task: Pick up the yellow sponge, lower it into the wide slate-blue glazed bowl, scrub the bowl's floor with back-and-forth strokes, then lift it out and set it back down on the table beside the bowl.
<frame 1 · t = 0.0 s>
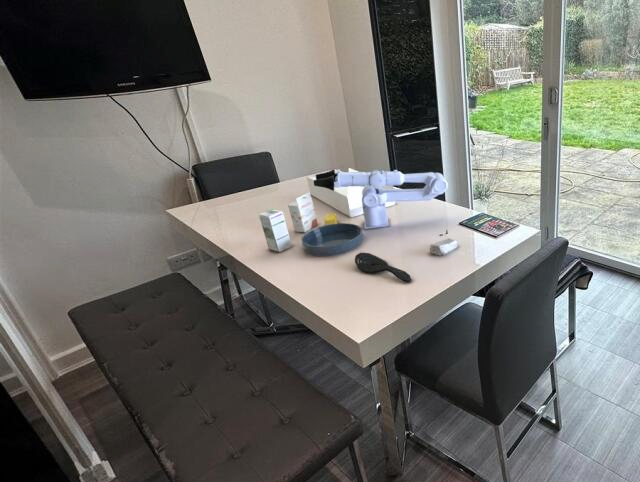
hand: (314, 180, 158), 22 cm above the table, tool horizontal, fingers open, 7 cm apart
bowl: (334, 243, 155), on the table
ink cartridge box: (306, 228, 169), on the table
hairbrush: (384, 271, 136), on the table
sponge: (332, 225, 171), on the table
syrup box: (280, 248, 152), on the table
soap bar: (445, 251, 149), on the table
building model: (351, 199, 201), on the table
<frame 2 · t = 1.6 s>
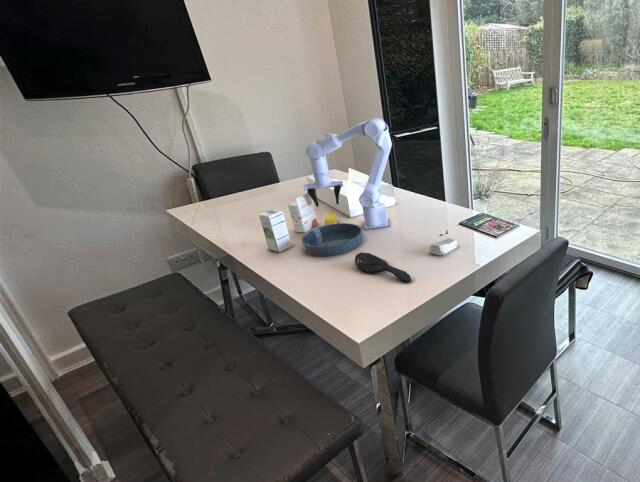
hand: (327, 204, 167), 9 cm above the table, tool pointing down, fingers open, 7 cm apart
nothing on the table moved.
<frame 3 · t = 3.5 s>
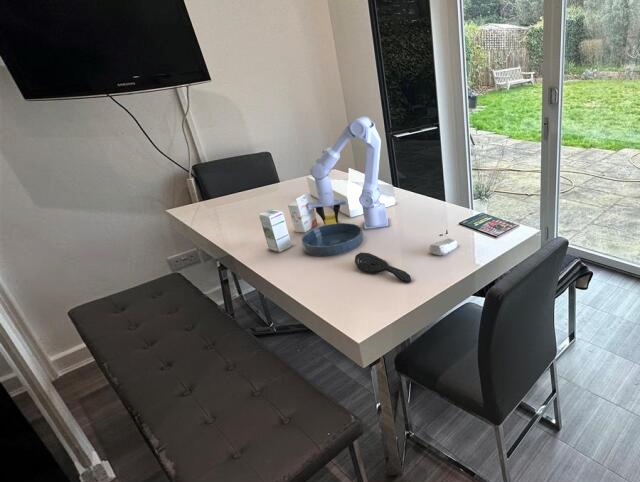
hand: (331, 222, 171), 1 cm above the table, tool pointing down, fingers closed on sponge, 4 cm apart
sponge: (331, 225, 171), on the table, touching gripper
everything else where it was.
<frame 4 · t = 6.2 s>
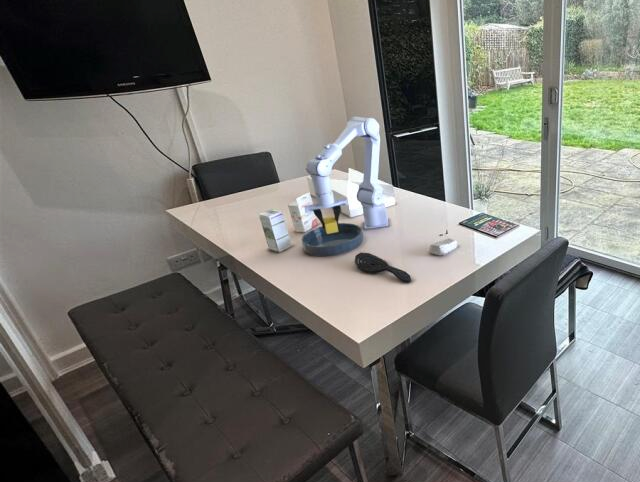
hand: (330, 226, 153), 7 cm above the table, tool pointing down, fingers closed on sponge, 4 cm apart
sponge: (331, 229, 153), point 6 cm above the table, touching gripper
everything else where it was.
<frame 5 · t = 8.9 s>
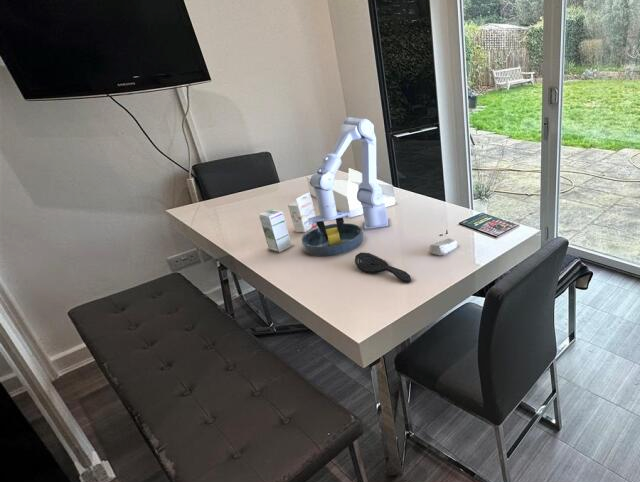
hand: (333, 237, 156), 2 cm above the table, tool pointing down, fingers closed on sponge, 4 cm apart
sponge: (334, 241, 156), point 1 cm above the table, touching gripper
everything else where it was.
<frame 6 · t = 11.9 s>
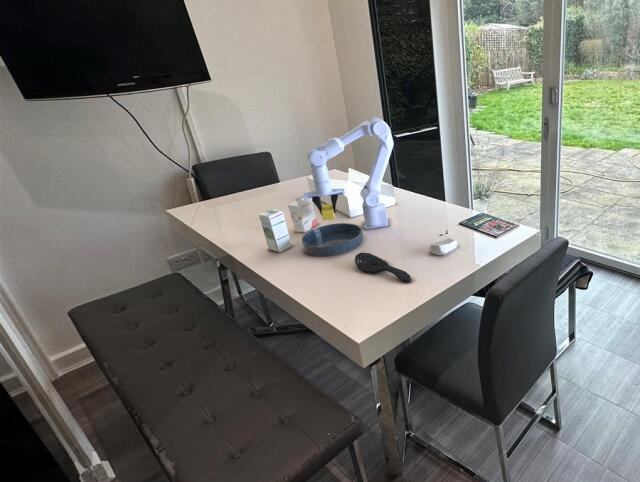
hand: (328, 213, 161), 8 cm above the table, tool pointing down, fingers closed on sponge, 4 cm apart
sponge: (329, 216, 162), point 7 cm above the table, touching gripper
everything else where it was.
when the fingers open (1 cm above the table, at t = 14.5 s): sponge stays where it is, on the table.
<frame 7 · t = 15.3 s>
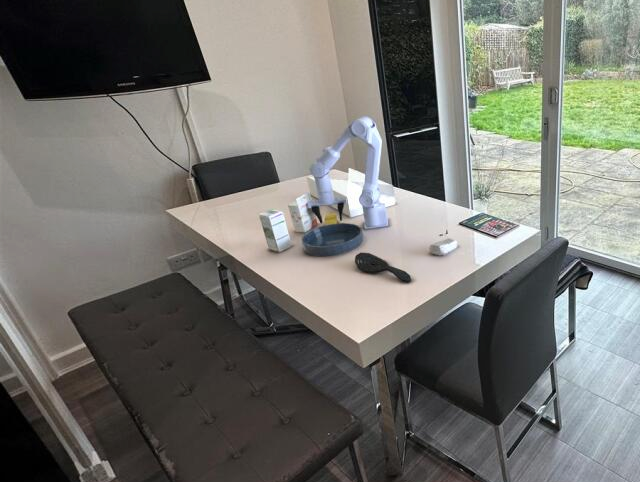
hand: (331, 221, 171), 2 cm above the table, tool pointing down, fingers open, 7 cm apart
sponge: (331, 225, 171), on the table
everything else where it was.
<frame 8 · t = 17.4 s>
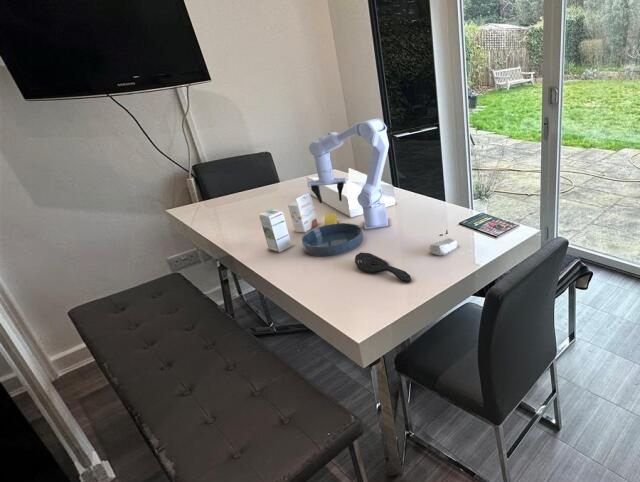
hand: (330, 201, 171), 9 cm above the table, tool pointing down, fingers open, 7 cm apart
nothing on the table moved.
at the end: sponge inside the target area (0.0 cm from its centre), on the table; the gripper is holding nothing; sponge tilted 0° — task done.
